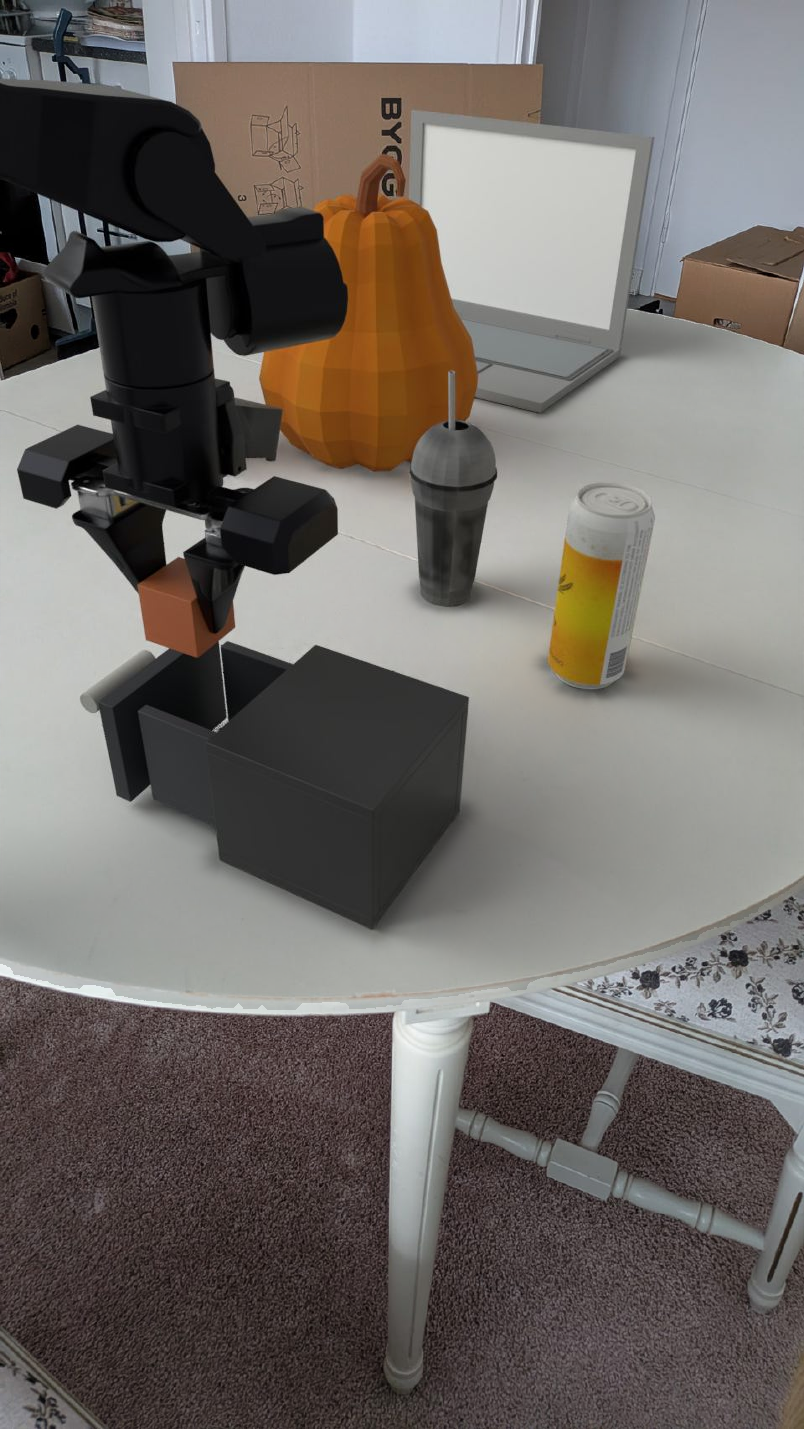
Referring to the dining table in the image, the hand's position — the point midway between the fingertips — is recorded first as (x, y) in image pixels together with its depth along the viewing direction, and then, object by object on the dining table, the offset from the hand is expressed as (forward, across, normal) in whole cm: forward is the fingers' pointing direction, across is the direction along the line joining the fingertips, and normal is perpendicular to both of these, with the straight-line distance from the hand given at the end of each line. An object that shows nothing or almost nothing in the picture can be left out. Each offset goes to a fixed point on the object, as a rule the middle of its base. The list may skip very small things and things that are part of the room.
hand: (189, 620), depth 62 cm
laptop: (+12, +20, -88) cm, 91 cm away
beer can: (+12, -19, -24) cm, 33 cm away
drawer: (+11, 0, +1) cm, 11 cm away
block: (+1, 0, 0) cm, 1 cm away
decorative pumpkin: (+12, +17, -54) cm, 58 cm away
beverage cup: (+12, -4, -29) cm, 32 cm away
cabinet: (+12, -12, +1) cm, 17 cm away
